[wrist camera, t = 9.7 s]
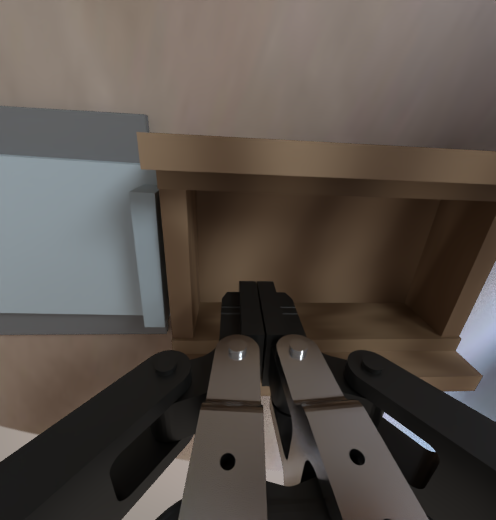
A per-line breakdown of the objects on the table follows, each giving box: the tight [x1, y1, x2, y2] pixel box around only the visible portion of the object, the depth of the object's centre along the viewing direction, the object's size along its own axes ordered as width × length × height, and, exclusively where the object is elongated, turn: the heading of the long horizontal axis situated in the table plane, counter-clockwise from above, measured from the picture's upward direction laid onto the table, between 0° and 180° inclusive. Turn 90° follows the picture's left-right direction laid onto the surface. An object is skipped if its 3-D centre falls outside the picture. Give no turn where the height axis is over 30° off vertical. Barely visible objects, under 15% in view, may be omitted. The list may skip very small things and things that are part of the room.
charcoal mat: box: [0, 106, 168, 335], centre depth 17 cm, size 14×15×1 cm
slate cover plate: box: [0, 154, 170, 327], centre depth 15 cm, size 16×10×4 cm, turn 86°
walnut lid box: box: [136, 132, 496, 396], centre depth 15 cm, size 18×13×7 cm
